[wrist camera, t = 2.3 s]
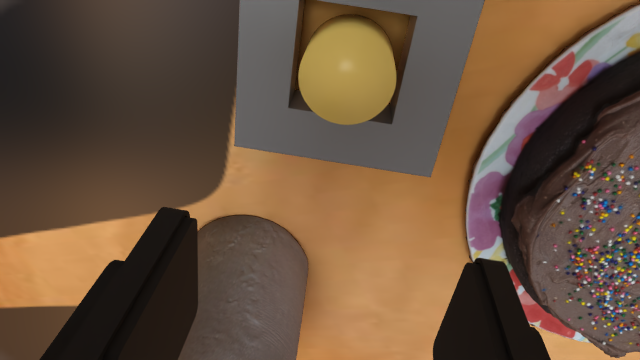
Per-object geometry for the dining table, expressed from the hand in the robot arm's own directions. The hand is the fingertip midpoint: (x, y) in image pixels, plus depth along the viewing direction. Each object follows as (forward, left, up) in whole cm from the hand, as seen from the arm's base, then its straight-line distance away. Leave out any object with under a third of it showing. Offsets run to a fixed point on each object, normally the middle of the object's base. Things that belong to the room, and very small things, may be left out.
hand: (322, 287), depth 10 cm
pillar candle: (+5, +18, -20) cm, 27 cm away
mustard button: (0, 0, -18) cm, 18 cm away
